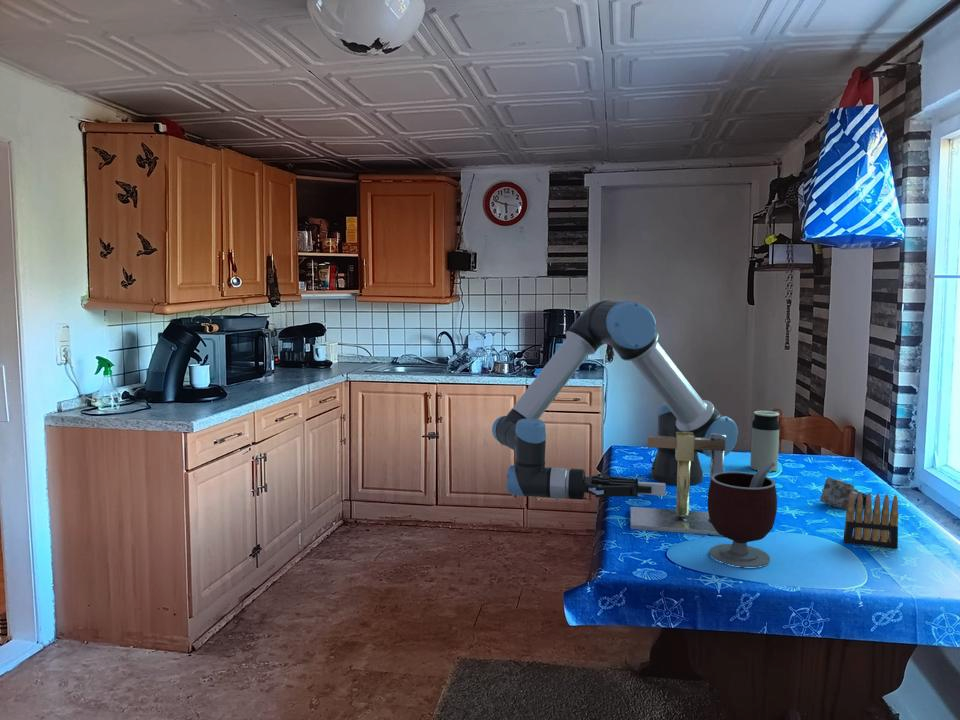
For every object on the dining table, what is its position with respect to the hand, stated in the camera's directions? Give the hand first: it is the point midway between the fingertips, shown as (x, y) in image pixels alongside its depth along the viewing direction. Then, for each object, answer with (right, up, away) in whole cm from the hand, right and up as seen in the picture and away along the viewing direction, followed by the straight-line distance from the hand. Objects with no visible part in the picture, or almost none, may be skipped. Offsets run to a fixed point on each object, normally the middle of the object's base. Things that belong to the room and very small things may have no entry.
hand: (665, 489), depth 176 cm
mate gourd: (+11, -11, -21) cm, 26 cm away
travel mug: (+44, -3, +51) cm, 67 cm away
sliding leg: (+4, -7, +1) cm, 8 cm away
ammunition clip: (+43, -10, -14) cm, 46 cm away
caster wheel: (+52, -7, +16) cm, 55 cm away
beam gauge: (+4, -8, 0) cm, 9 cm away
